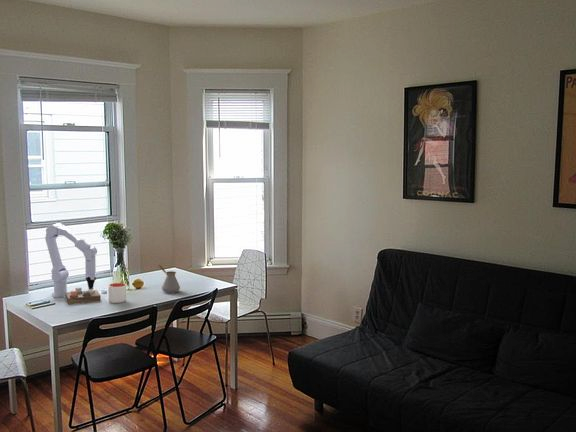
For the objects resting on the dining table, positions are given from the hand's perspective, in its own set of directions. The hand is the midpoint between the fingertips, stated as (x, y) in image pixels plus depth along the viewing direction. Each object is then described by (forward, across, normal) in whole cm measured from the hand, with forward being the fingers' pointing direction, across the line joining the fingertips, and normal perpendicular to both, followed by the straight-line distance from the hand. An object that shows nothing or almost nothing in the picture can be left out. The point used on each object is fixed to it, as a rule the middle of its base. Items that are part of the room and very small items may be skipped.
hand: (90, 288), depth 336 cm
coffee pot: (+6, 0, -47) cm, 47 cm away
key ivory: (+4, 0, 0) cm, 4 cm away
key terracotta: (+2, -7, +10) cm, 13 cm away
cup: (+6, -14, -13) cm, 20 cm away
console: (+5, -4, +5) cm, 8 cm away
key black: (+4, -7, +3) cm, 9 cm away
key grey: (+2, 0, +7) cm, 7 cm away
